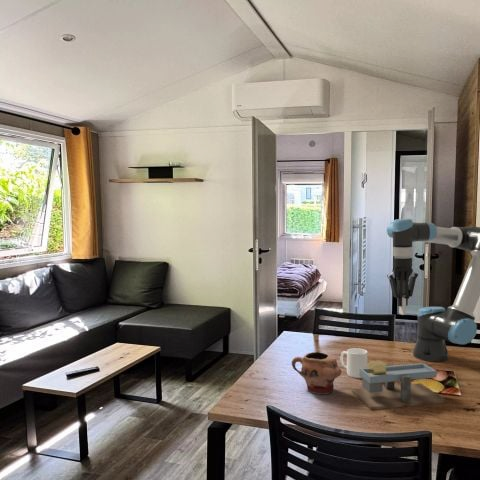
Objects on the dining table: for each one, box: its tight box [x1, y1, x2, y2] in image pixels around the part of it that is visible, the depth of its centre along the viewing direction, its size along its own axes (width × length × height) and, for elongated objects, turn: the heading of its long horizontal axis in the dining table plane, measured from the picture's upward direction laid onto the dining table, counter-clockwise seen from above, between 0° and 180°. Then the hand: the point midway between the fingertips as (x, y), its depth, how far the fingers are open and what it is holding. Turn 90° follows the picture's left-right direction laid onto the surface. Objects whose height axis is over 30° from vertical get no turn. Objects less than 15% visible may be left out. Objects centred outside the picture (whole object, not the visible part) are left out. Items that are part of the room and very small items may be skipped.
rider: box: [368, 360, 387, 376], centre depth 174 cm, size 4×4×4 cm
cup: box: [339, 347, 368, 379], centre depth 201 cm, size 8×12×10 cm
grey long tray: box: [360, 362, 437, 393], centre depth 176 cm, size 26×9×6 cm, turn 100°
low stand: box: [351, 364, 447, 411], centre depth 177 cm, size 29×16×10 cm, turn 100°
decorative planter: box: [291, 351, 342, 395], centre depth 184 cm, size 20×12×14 cm, turn 65°
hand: (402, 313), depth 197 cm, fingers closed
